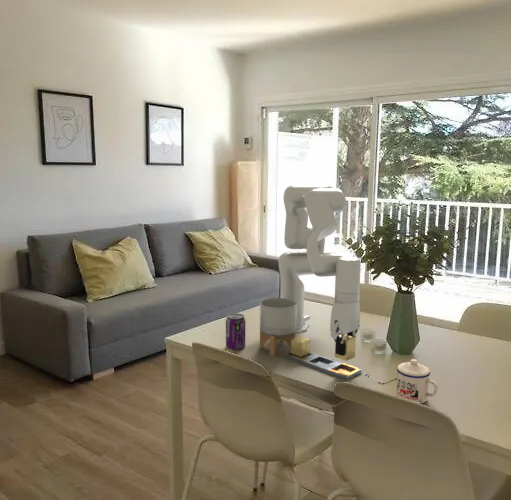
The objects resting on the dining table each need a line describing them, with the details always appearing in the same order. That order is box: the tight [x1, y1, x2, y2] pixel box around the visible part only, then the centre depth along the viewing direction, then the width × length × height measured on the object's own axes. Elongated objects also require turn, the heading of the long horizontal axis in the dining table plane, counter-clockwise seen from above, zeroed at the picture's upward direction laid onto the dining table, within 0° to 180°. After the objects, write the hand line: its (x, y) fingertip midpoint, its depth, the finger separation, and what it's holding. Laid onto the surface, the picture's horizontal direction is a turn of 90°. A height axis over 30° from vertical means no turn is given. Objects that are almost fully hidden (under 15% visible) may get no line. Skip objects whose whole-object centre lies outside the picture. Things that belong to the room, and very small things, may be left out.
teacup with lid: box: [395, 358, 439, 404], centre depth 145 cm, size 12×9×12 cm
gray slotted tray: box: [283, 350, 362, 381], centre depth 169 cm, size 8×26×2 cm, turn 45°
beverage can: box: [225, 313, 246, 351], centre depth 184 cm, size 7×7×12 cm
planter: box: [259, 297, 297, 357], centre depth 181 cm, size 13×13×18 cm
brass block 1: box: [290, 335, 311, 359], centre depth 175 cm, size 4×4×6 cm
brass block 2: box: [334, 334, 357, 362], centre depth 161 cm, size 4×4×6 cm
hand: (344, 351), depth 162 cm, fingers closed on brass block 2, 4 cm apart
